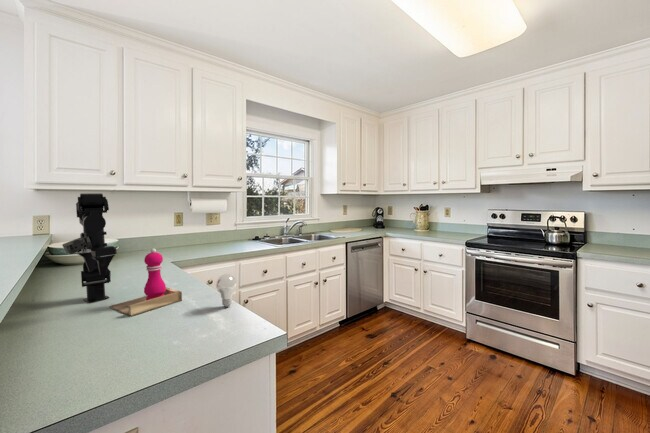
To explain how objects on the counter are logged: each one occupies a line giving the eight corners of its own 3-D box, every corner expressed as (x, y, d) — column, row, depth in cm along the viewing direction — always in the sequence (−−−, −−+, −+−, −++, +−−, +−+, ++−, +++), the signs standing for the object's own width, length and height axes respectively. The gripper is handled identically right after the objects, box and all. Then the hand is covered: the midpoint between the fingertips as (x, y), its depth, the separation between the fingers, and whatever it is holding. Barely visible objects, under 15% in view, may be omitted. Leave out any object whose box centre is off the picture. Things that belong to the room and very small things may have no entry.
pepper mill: (166, 302, 113) (163, 249, 111) (143, 305, 110) (140, 250, 108) (166, 296, 119) (164, 246, 118) (145, 299, 116) (142, 247, 115)
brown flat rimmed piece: (109, 307, 110) (109, 297, 110) (159, 293, 125) (159, 285, 125) (131, 316, 101) (130, 306, 101) (182, 300, 116) (181, 291, 116)
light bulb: (219, 303, 113) (218, 272, 112) (238, 303, 113) (237, 271, 112) (214, 311, 106) (213, 277, 105) (234, 310, 106) (233, 276, 105)
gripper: (54, 230, 104) (57, 275, 105) (75, 233, 94) (79, 283, 95) (92, 227, 114) (95, 268, 115) (116, 229, 103) (118, 275, 104)
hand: (96, 273), depth 107 cm, fingers open, 9 cm apart
